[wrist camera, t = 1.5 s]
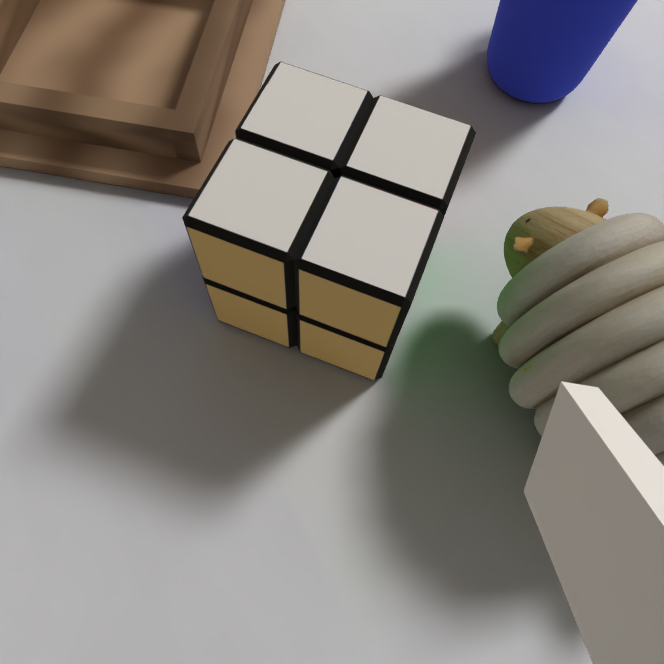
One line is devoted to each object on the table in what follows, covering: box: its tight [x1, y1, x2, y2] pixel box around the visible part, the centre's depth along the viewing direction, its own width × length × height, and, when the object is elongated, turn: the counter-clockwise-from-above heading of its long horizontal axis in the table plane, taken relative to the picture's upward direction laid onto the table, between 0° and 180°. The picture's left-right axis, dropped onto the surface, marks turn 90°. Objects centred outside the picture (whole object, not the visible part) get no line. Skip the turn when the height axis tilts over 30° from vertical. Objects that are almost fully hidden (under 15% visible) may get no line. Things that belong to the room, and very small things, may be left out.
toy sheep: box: [493, 198, 664, 466], centre depth 26 cm, size 11×17×11 cm, turn 27°
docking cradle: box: [0, 0, 285, 198], centre depth 37 cm, size 20×20×4 cm
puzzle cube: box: [182, 62, 476, 380], centre depth 28 cm, size 10×10×10 cm
